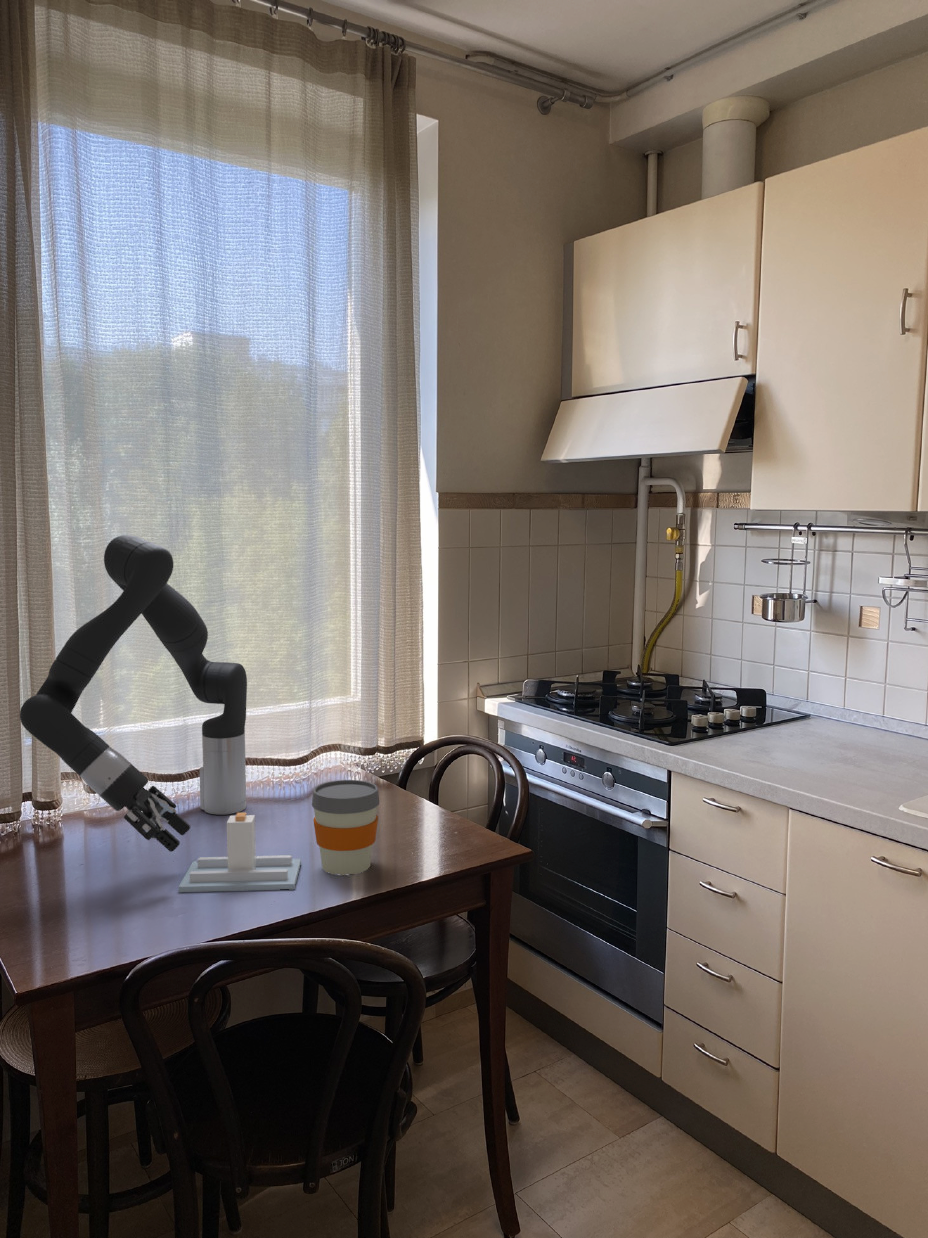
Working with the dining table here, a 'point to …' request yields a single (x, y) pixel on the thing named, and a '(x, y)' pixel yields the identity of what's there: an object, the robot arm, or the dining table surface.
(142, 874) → the dining table surface
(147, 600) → the robot arm
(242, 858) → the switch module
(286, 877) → the mounting board
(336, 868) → the reusable coffee cup
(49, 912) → the dining table surface
